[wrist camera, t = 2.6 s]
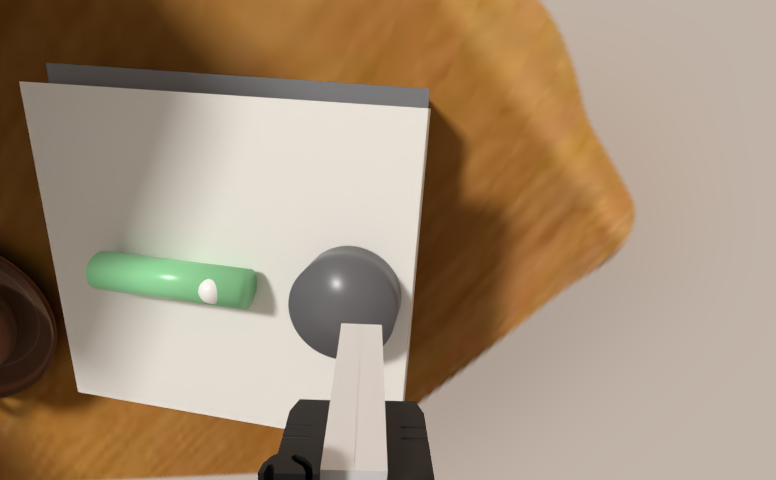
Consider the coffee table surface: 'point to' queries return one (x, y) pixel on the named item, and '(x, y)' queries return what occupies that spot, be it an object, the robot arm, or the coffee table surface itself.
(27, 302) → the cup and saucer
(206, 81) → the level base
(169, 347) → the level plate
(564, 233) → the coffee table surface
